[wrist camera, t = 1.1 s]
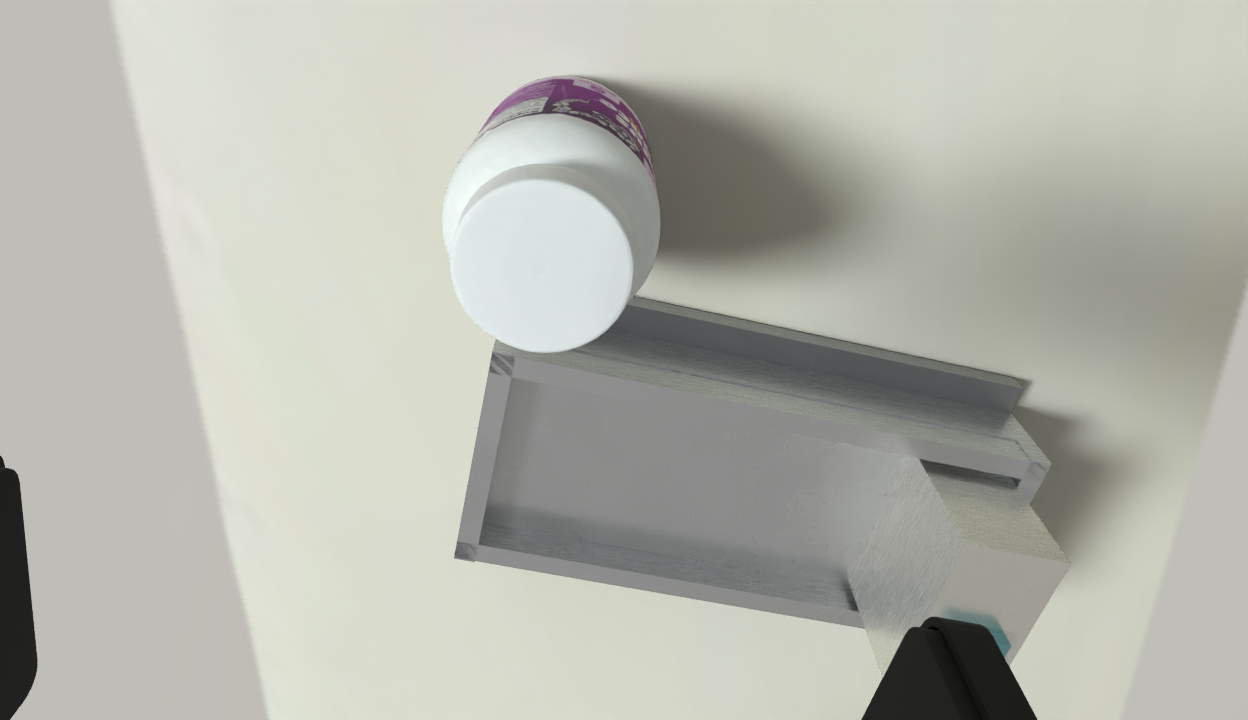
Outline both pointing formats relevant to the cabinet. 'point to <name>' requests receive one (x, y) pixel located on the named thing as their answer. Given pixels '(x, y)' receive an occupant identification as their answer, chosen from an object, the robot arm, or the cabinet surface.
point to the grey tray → (765, 476)
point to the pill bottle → (552, 215)
